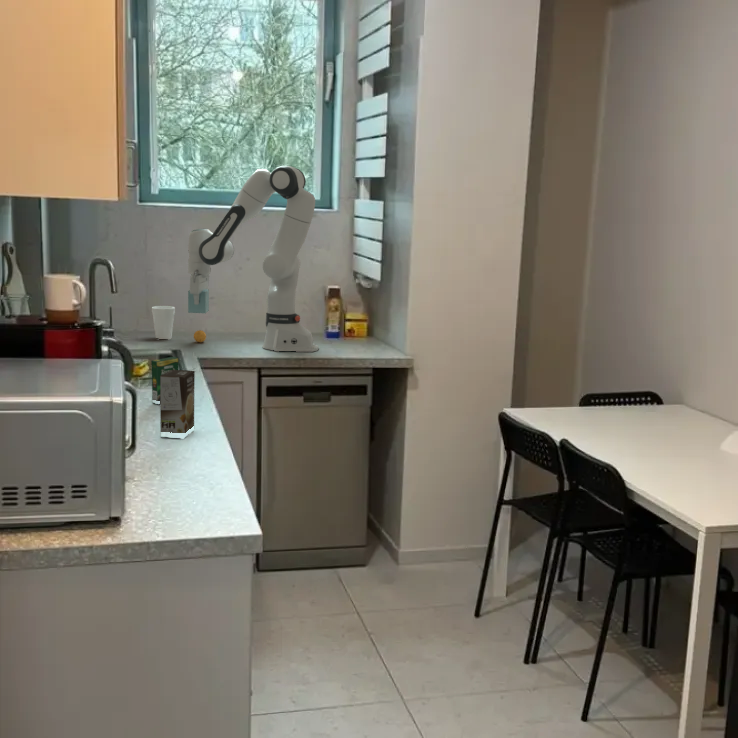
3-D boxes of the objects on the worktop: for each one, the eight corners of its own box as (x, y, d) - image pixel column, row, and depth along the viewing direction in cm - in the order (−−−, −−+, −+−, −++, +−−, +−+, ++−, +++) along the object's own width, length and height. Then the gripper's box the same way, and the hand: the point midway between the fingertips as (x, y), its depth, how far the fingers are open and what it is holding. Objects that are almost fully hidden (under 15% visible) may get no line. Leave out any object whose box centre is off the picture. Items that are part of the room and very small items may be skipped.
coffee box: (184, 439, 225) (184, 377, 222) (159, 438, 226) (159, 375, 223) (195, 430, 234) (195, 370, 231) (171, 429, 235) (170, 368, 232)
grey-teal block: (208, 310, 369) (208, 289, 367) (205, 313, 363) (205, 291, 361) (191, 309, 369) (191, 288, 367) (188, 312, 363) (188, 291, 361)
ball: (205, 343, 366) (207, 341, 371) (204, 331, 365) (206, 329, 370) (192, 343, 366) (195, 341, 370) (192, 331, 365) (194, 329, 369)
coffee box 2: (157, 405, 259) (156, 360, 257) (151, 403, 261) (150, 359, 259) (179, 401, 265) (179, 357, 263) (173, 399, 267) (173, 356, 265)
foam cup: (151, 336, 377) (151, 306, 375) (173, 336, 380) (173, 306, 378) (153, 340, 368) (152, 309, 366) (176, 340, 371) (175, 308, 369)
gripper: (202, 271, 352) (201, 306, 355) (211, 267, 372) (211, 300, 375) (186, 270, 352) (185, 305, 355) (196, 266, 372) (196, 299, 375)
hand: (198, 303), depth 365 cm, fingers closed on grey-teal block, 7 cm apart
